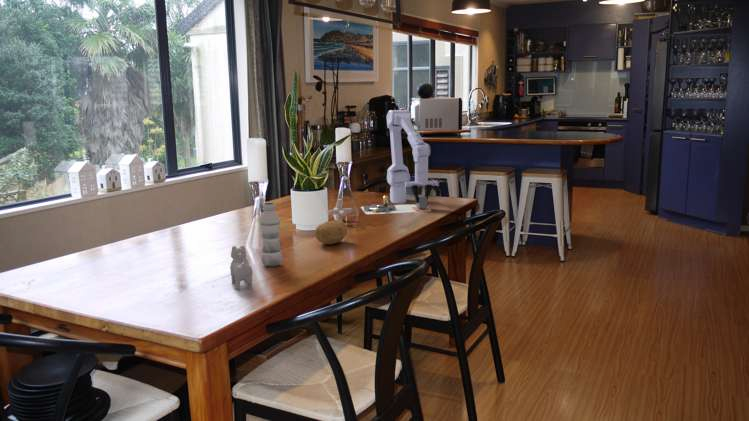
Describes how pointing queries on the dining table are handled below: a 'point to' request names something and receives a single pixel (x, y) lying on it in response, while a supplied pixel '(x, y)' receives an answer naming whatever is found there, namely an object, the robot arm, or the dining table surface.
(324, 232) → the potato
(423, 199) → the grey rectangular block
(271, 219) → the grey tiered tower
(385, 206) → the sprocket
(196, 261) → the dining table surface
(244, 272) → the dog figurine
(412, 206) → the board
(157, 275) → the dining table surface
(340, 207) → the pipe connector
